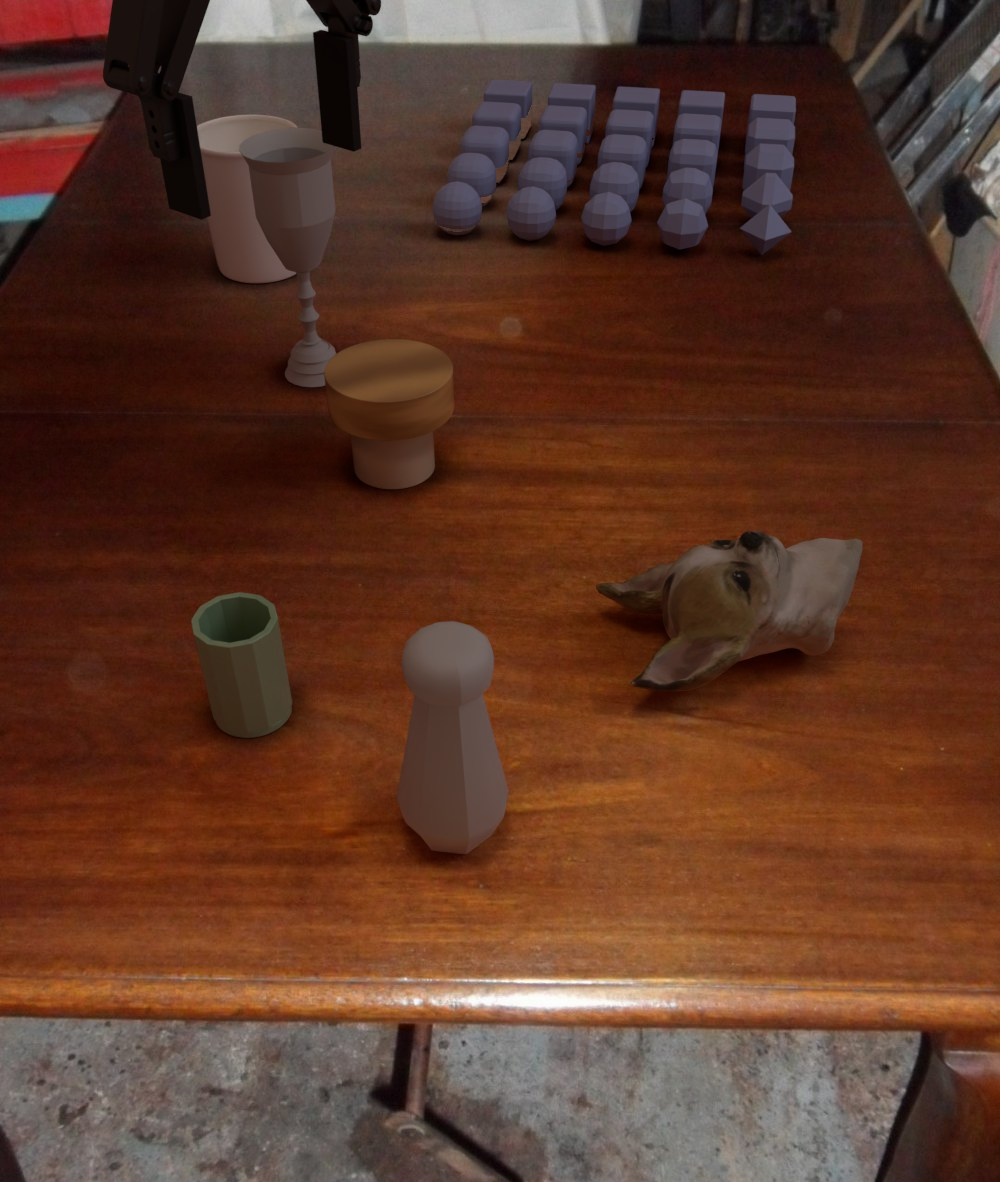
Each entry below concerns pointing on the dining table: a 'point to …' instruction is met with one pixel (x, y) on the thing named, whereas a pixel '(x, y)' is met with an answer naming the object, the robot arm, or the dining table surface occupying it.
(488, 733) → the salt shaker
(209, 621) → the cup
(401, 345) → the wooden disc
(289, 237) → the chalice
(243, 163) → the white tapered vessel
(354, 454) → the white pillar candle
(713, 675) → the ceramic sculpture
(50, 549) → the dining table surface
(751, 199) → the blocks
